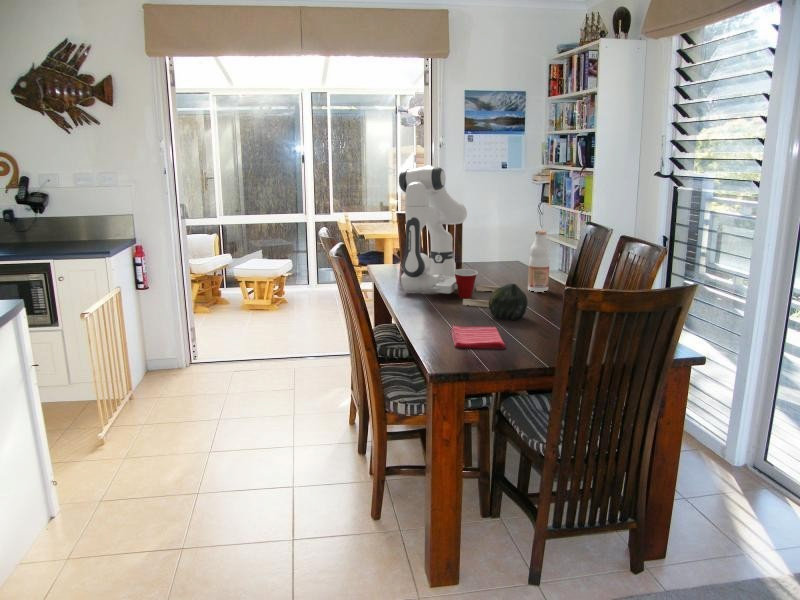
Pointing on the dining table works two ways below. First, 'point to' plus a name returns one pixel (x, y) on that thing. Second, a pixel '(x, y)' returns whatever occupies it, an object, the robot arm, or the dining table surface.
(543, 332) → the dining table surface
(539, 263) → the fruit juice
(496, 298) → the squash
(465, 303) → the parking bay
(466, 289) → the plastic cup
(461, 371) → the dining table surface
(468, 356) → the dining table surface
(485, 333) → the dish towel
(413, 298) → the dining table surface
